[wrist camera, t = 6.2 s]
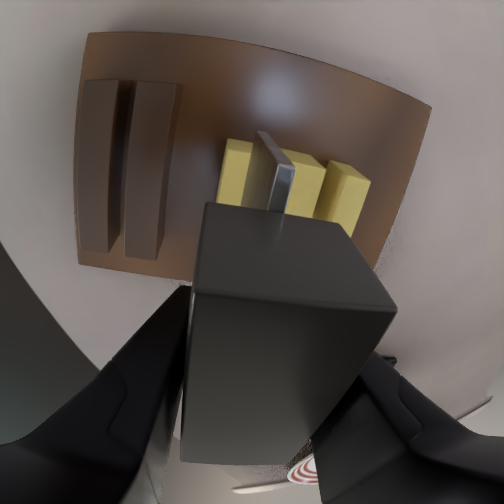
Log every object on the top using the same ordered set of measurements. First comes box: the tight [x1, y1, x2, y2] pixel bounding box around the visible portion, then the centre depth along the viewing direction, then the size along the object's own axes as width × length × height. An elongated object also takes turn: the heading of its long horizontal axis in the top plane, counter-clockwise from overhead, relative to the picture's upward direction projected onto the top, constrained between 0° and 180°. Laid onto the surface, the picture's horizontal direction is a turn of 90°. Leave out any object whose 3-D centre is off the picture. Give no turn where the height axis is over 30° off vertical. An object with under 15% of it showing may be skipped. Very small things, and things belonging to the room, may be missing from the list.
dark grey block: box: [180, 130, 398, 465], centre depth 9 cm, size 3×8×8 cm, turn 169°
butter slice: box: [312, 160, 371, 238], centre depth 18 cm, size 2×4×3 cm, turn 168°
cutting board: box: [73, 32, 432, 282], centre depth 18 cm, size 22×16×4 cm
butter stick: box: [215, 138, 326, 218], centre depth 17 cm, size 5×4×3 cm
